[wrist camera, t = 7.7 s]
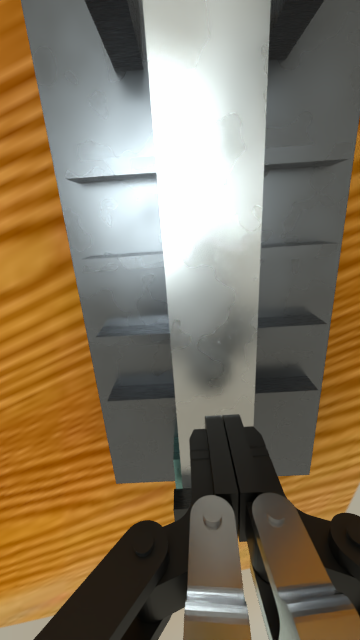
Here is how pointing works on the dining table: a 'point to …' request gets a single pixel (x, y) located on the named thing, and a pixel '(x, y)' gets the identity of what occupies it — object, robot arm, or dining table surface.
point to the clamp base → (145, 224)
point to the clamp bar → (209, 200)
